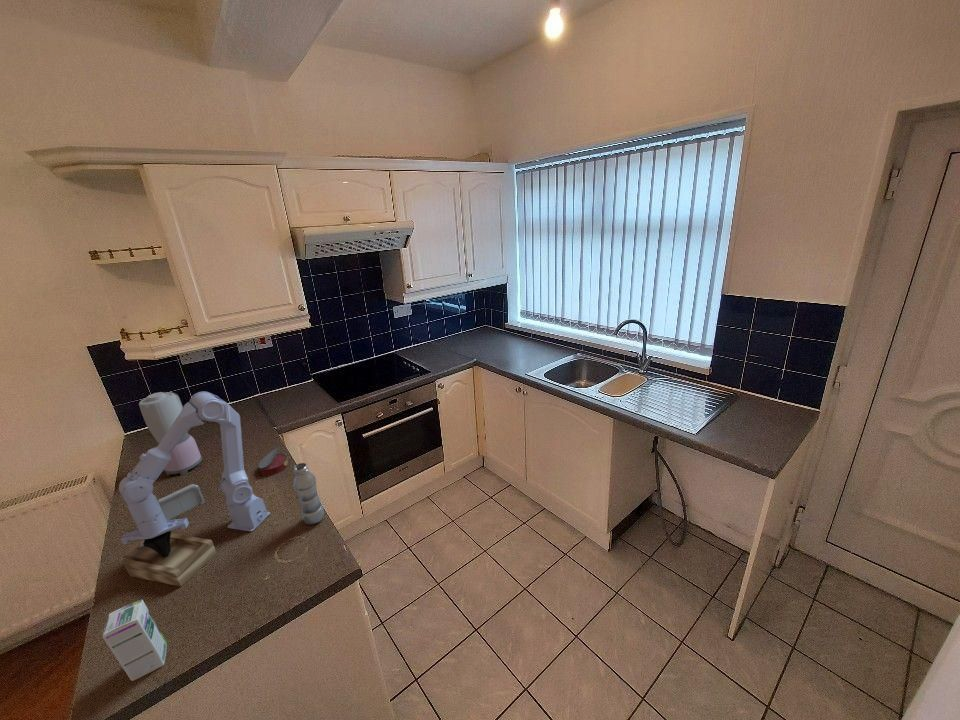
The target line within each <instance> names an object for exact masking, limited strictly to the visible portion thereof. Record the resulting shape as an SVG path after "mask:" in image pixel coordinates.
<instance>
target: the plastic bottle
mask: <svg viewBox="0 0 960 720" xmlns="http://www.w3.org/2000/svg"><path fill="white" fill-rule="evenodd" d="M293 473H294V475H295V476H294V478H293V481H292V486H293V489H294V491H295V493H296V495H297V498H298V500H299V503H300V508H301V519H302V520H303V522H304V523H305V524H307V525H315V524H317V523H320V521H322V520H323V518H324V516H325V508H324V506H323V504H322V502H321V499H320V497H319V493H318V489H317V479H316V476H315V474H314V473H312V472H311V471H309V467H308V465H307V463H305V462H299V463H297V464H296V465H294V466H293Z"/></svg>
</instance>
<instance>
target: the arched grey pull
mask: <svg viewBox="0 0 960 720" xmlns="http://www.w3.org/2000/svg"><path fill="white" fill-rule="evenodd" d="M200 488H201V487H200V486H199V485H198V484H194V483H190V484H189V485H187V486H185V487H182V488H181V489H179V490H176V491H172V493H170V494H168V495H166V496H164V497H161V498H159V499H157V501H158V503H159V505H160V507H161V509H162V511H163V514H164V516H165V518H166V520H172V519H173V518H175V517H177V516H179V515H181V514H183V513H185V512H186V511H189V510H191V509H193V508H195V507H196V506H198V505H203V504H204V503H205V502H206V501H205V498H204V496H203V493H202V491H201V489H200Z"/></svg>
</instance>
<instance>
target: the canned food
mask: <svg viewBox="0 0 960 720" xmlns="http://www.w3.org/2000/svg"><path fill="white" fill-rule="evenodd" d="M280 449H281V446H277V447H276V448H274V449H273V450H271V451H269V452H268V454H267V455H265V456H264V457H263V458H262V460H260V462H259V463H258V469H259V472H260V474H261V475H262V476H265V477H266V476H268V477H269V476H273V475H276V474H277V475H278V474H279V473H281V472H283V471H284V470H285V469H287V468H286V467H288V466H289V462H288V461H289V460H288V458H287V455H285V454H284V453H279V451H280Z"/></svg>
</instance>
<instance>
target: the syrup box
mask: <svg viewBox="0 0 960 720" xmlns="http://www.w3.org/2000/svg"><path fill="white" fill-rule="evenodd" d="M102 639H103V640H104V642H105V643H106V645H107V646H108V648H109V649H110V651H111V653H112V655H114V658H116V660H117V661H118V663H119V664H120V666H121V667H122V670H123V671H124V672H125V674H126V675H127V677H128V678H129V679H130V681H131V682H133V681H136V680H138V679H141V678H142V677H144V676H146V675H148V674H150V673H152V672H153V671H156V670H157V669H159V668H161V667H163V666H165V662H166V661H165V660H166V657H167V647H168V642H167V640H166V638H165V637H164V635H163V633H162V631H161V629H160V627H159V625H158V624H157V623H156V620H155V619H154V617H153V616H152V613H151V612H150V610H149V608H148V607H147V605H146V603H145V602H144V600H143V599H139V600H136V601H133V602H131V603H129V604H126V605H124V606H122V607H121V608H118V609H116V610H114V611H112V612H110V613H108V617H107V621H106V623H105V626H104V629H103V633H102Z"/></svg>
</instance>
